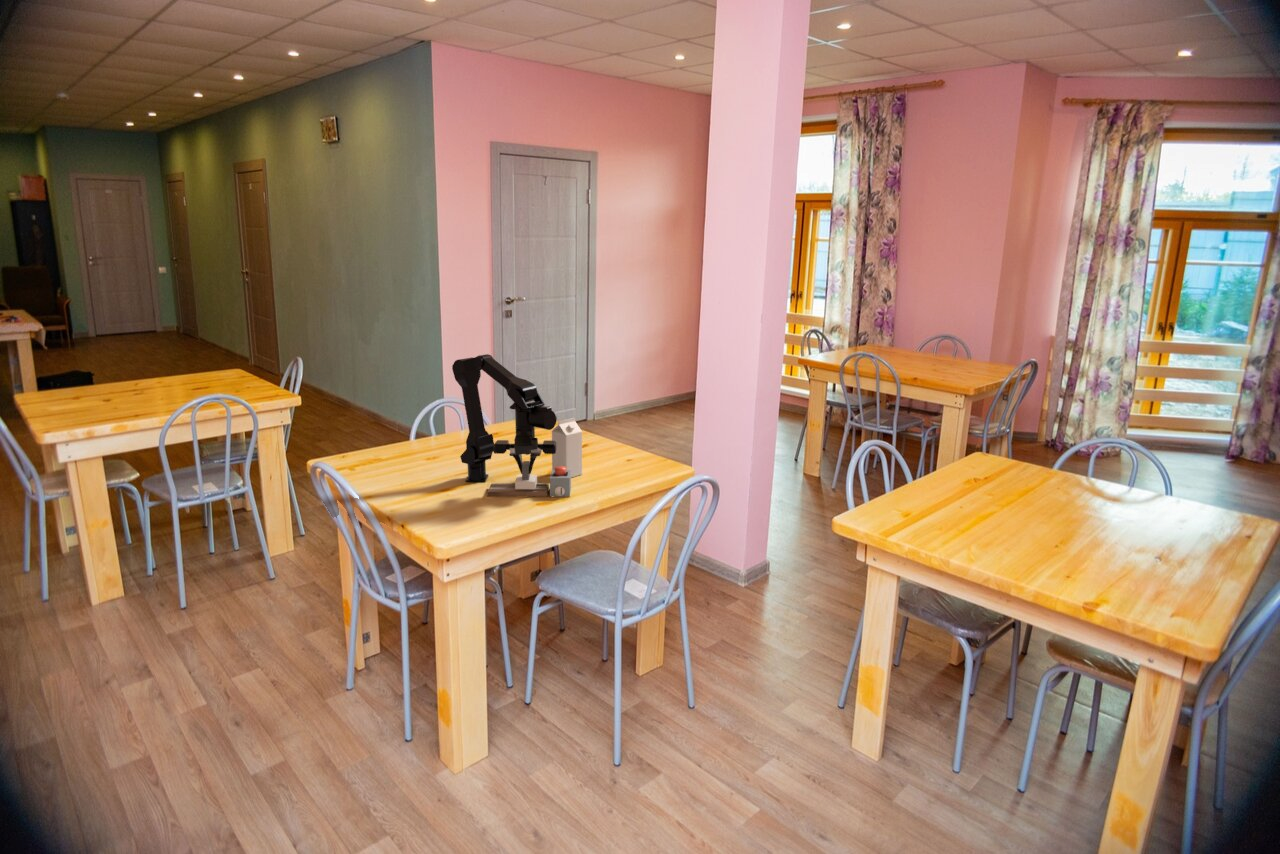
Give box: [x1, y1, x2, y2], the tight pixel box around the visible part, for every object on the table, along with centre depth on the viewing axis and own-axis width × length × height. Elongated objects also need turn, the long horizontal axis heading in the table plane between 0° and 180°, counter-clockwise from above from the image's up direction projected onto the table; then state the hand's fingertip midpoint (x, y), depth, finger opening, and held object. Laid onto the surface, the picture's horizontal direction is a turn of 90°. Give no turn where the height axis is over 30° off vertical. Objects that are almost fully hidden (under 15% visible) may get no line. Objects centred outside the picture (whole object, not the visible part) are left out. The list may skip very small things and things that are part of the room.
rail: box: [486, 482, 550, 498], centre depth 235 cm, size 8×18×2 cm, turn 92°
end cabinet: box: [549, 469, 572, 498], centre depth 235 cm, size 8×6×6 cm
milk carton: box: [551, 417, 583, 478], centre depth 251 cm, size 7×7×19 cm
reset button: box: [555, 466, 566, 476], centre depth 234 cm, size 4×4×3 cm
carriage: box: [514, 460, 538, 489], centre depth 234 cm, size 7×6×7 cm
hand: (526, 473), depth 234 cm, fingers closed on carriage, 2 cm apart
